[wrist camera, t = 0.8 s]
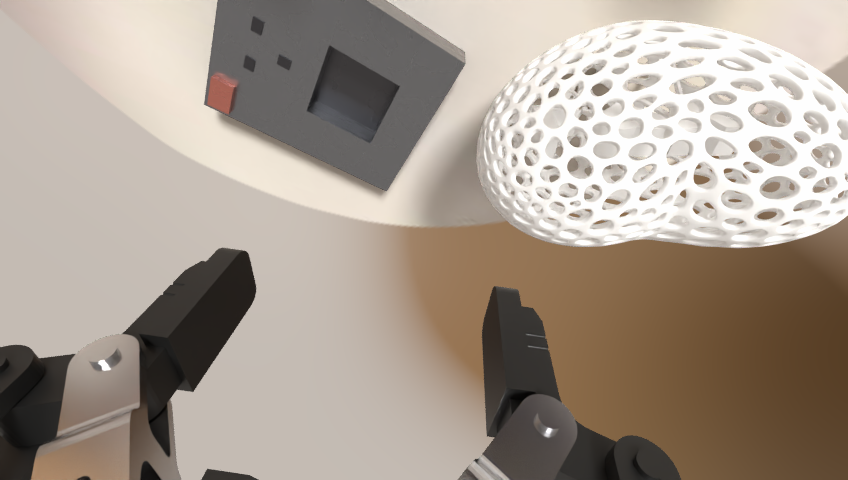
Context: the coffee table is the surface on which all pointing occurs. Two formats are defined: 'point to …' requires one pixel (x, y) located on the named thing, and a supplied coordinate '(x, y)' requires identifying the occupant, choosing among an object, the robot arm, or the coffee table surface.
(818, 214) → the decorative heart
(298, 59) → the socket plate
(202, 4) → the coffee table surface
